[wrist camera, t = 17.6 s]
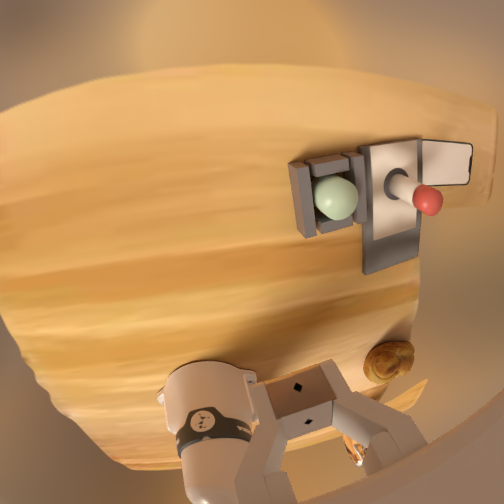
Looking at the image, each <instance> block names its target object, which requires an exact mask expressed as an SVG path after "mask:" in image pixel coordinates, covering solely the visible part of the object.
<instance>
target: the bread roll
mask: <svg viewBox="0 0 504 504" xmlns="http://www.w3.org/2000/svg"><path fill="white" fill-rule="evenodd" d="M413 354H414V347H413V345H412V344H411V343H410V342H408V341H401V342H400V341H391V342H385V343H383V344H381V345H379V346H377V347H375V348H374V349H373V350H371V351H370V353H369V354H368V356H367V357H366V360H365V363H364V367H363V370H364V374H365V376H366V377H367V378H368V379H369V380H370V381H371V382H374V383H377V384H387V383H388V382H390V381H391V380H392V379H394V377H401V376H403V375H405V374H406V373H408V372H409V371H410V369H411V367H412V365H413V362H414V355H413Z"/></svg>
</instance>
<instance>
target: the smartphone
mask: <svg viewBox="0 0 504 504" xmlns="http://www.w3.org/2000/svg"><path fill="white" fill-rule="evenodd" d="M422 141H423V144H422V162H423V179H422V184H425V185H428V186H455V185H467V184H468V183H469V181H470V174H471V166H472V156H473V146H472V144H471V143H463V142H454V141H443V140H430V139H422Z"/></svg>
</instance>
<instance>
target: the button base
mask: <svg viewBox="0 0 504 504" xmlns="http://www.w3.org/2000/svg"><path fill="white" fill-rule="evenodd" d="M288 168H289V175H290V181H291V188H292V194H293V201H294V208H295V215H296V222H297V229H298V230H299V232H300V233H301V234H302V235H303V236H304V237H305V238H310V237H313V236H317V234H316V228H317V229H318V230H319V231H320V232H321V233H322V234H324V233H327V232H331V231H335V230H338V229H342V228H345V227H349V226H352V225H353V221H354V222H356V223H357V224H359V223H363V222H366V221H367V203H366V182H365V166H364V156H363V155H361V154H358V153H355V152H352V151H350V152H345V153H342V156H341V155H338V154H334V155H328V156H323V157H318V158H313V159H308V160H305V164H303V163H302V162H300V161H298V162H293V163H289V164H288ZM343 171H344V179H345V180H347V181H349V182H351V183H352V184H353V185H354V186H355V187H356V189H357V191H358V204H357V207H356V209H355V210H354V212H353V213H352V214H351V215H350V216H348V217H347V218H345V219H342V220H333V219H330V218H329V217H327V216H326V215H325V214H324V213H323V212H321V213H317V214H314V206H313V197H312V189H311V181H310V174H311V175H313V176H315V177H319V176H324V175H329V174H333V173H338V172H343Z"/></svg>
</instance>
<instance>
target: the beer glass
mask: <svg viewBox="0 0 504 504" xmlns="http://www.w3.org/2000/svg"><path fill="white" fill-rule="evenodd" d="M341 433H342V432H341ZM342 436H343V440H344V444H345V447H346V450H347V453H348V455H349V457H350V459H351V460H352V462H353V463H354V465H355V467H358V466H362V465H361V464H362V461H363V459H364V456H365V454H366V451H367V448H366V447H364V446H363V445H361V444H359V443H358V442H356V441H354V440H353V439H351V438H350V437H348V436H347V435H345V434H343V433H342Z"/></svg>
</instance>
